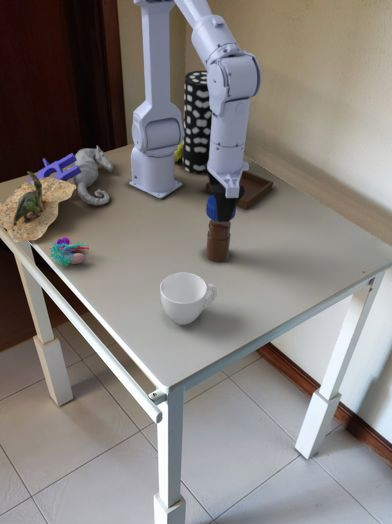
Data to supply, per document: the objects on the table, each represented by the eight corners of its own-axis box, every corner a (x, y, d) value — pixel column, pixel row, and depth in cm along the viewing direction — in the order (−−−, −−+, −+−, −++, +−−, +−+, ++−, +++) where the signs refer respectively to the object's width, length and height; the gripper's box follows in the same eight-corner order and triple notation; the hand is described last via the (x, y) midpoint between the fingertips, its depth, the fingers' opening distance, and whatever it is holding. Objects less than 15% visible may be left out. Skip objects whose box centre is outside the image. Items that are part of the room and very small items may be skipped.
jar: (201, 256, 97) (203, 224, 92) (213, 245, 100) (215, 213, 94) (221, 265, 96) (224, 232, 90) (232, 253, 98) (236, 221, 93)
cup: (154, 307, 87) (153, 277, 82) (206, 294, 90) (208, 265, 85) (169, 337, 83) (169, 308, 77) (223, 323, 85) (227, 294, 80)
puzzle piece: (85, 181, 106) (81, 176, 104) (37, 208, 107) (33, 204, 106) (72, 148, 109) (68, 143, 108) (26, 175, 111) (22, 170, 109)
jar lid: (237, 221, 89) (239, 208, 88) (208, 222, 89) (209, 210, 87) (232, 205, 93) (233, 192, 91) (204, 206, 92) (204, 193, 90)
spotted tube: (200, 153, 125) (205, 67, 110) (223, 167, 121) (231, 79, 106) (175, 163, 121) (176, 76, 106) (198, 177, 117) (203, 88, 102)
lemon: (172, 143, 125) (181, 156, 127) (162, 155, 119) (172, 168, 121) (184, 133, 122) (193, 147, 124) (174, 146, 117) (184, 159, 119)
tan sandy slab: (-37, 208, 98) (-12, 236, 104) (5, 220, 90) (29, 250, 96) (23, 151, 104) (43, 181, 110) (67, 157, 97) (86, 189, 102)
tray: (205, 191, 113) (205, 184, 112) (232, 172, 119) (233, 165, 118) (246, 209, 109) (247, 202, 108) (272, 189, 115) (273, 181, 114)
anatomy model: (90, 225, 95) (53, 222, 94) (86, 251, 89) (47, 248, 88) (90, 247, 98) (55, 244, 97) (86, 273, 93) (49, 270, 92)
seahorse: (130, 196, 107) (107, 140, 117) (77, 193, 102) (58, 135, 112) (124, 214, 111) (103, 159, 121) (73, 212, 106) (55, 155, 116)
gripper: (261, 160, 76) (250, 234, 86) (242, 119, 86) (234, 189, 96) (216, 161, 75) (210, 236, 85) (202, 119, 85) (198, 191, 95)
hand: (220, 211), depth 91 cm, fingers closed on jar lid, 5 cm apart
